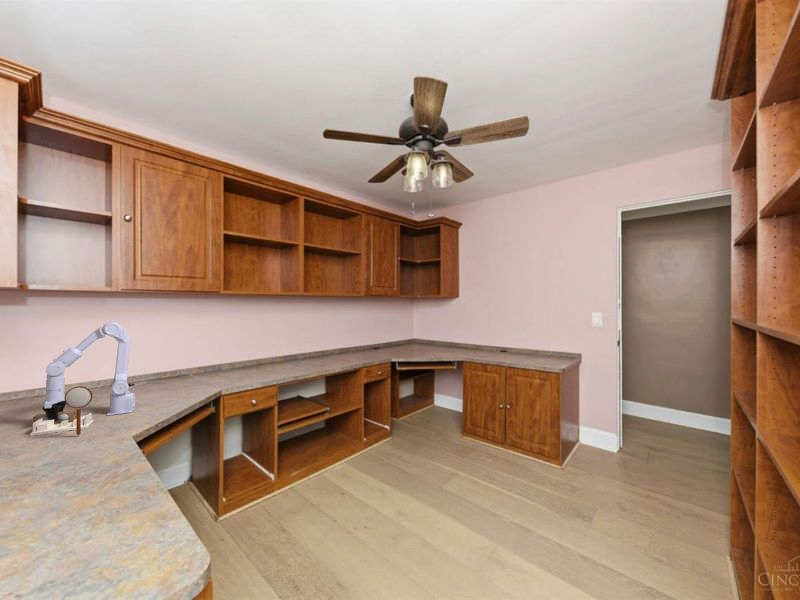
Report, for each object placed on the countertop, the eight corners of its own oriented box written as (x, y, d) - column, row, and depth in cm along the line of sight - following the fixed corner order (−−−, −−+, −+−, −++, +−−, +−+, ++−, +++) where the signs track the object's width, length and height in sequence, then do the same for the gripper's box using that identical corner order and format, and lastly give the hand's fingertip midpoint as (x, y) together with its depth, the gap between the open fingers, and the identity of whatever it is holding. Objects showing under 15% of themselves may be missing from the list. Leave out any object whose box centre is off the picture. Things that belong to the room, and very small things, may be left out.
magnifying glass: (93, 434, 136) (93, 384, 136) (90, 435, 134) (91, 385, 134) (65, 437, 133) (66, 386, 133) (63, 438, 131) (63, 387, 131)
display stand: (93, 421, 150) (93, 411, 150) (85, 428, 142) (85, 418, 142) (41, 428, 142) (41, 417, 142) (30, 435, 134) (30, 424, 134)
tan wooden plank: (76, 419, 153) (76, 410, 153) (73, 422, 149) (73, 412, 149) (37, 424, 147) (37, 414, 147) (32, 427, 143) (32, 417, 143)
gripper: (50, 386, 153) (50, 416, 153) (34, 394, 140) (34, 427, 140) (71, 384, 156) (71, 414, 156) (57, 392, 143) (57, 424, 143)
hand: (55, 420), depth 148 cm, fingers closed on tan wooden plank, 4 cm apart
